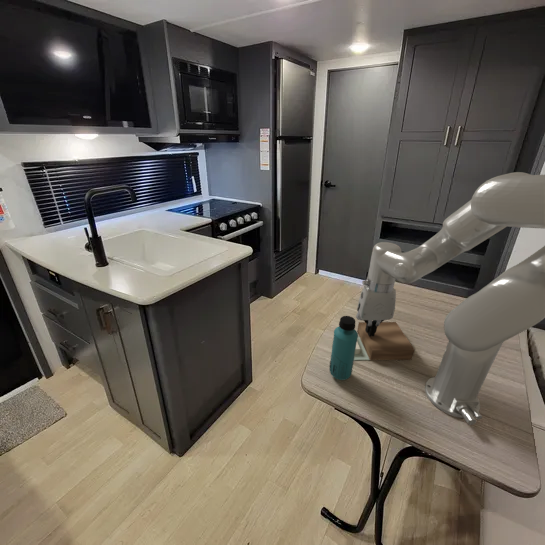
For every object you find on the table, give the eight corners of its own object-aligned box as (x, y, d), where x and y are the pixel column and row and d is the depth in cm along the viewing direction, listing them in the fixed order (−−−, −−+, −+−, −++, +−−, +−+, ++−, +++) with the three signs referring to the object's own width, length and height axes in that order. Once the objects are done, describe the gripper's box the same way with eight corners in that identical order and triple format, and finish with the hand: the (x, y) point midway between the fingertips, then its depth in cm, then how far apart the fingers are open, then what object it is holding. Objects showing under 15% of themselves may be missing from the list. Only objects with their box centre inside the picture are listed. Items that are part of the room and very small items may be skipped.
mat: (369, 360, 88) (369, 359, 88) (346, 360, 88) (347, 359, 88) (358, 337, 98) (359, 336, 98) (338, 337, 98) (338, 336, 98)
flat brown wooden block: (411, 359, 88) (414, 349, 87) (370, 360, 88) (372, 350, 86) (393, 331, 101) (395, 322, 99) (357, 331, 101) (358, 322, 99)
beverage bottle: (355, 376, 82) (366, 319, 73) (342, 388, 78) (351, 330, 69) (336, 363, 87) (344, 308, 78) (323, 375, 83) (330, 318, 74)
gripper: (358, 290, 81) (350, 341, 89) (410, 290, 81) (397, 341, 89) (351, 278, 87) (344, 326, 95) (399, 278, 88) (388, 326, 96)
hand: (370, 333), depth 92 cm, fingers closed
